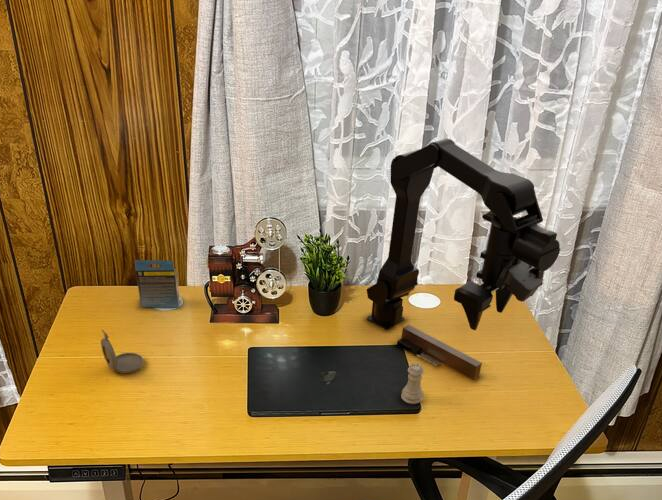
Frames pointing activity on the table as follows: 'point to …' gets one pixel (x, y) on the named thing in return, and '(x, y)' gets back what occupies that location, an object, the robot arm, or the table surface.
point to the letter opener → (415, 351)
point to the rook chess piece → (413, 385)
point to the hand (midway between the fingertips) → (486, 320)
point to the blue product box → (157, 283)
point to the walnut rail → (442, 352)
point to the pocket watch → (120, 358)
